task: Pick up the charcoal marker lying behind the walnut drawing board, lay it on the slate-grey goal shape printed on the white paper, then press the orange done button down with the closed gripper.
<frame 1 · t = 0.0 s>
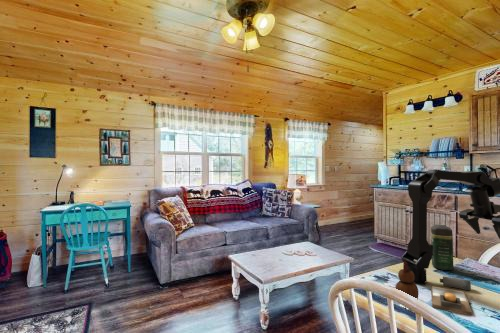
hand: (489, 236, 112), 15 cm above the table, tool pointing down, fingers open, 9 cm apart
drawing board: (449, 300, 91), on the table
done button: (450, 297, 87), point 3 cm above the table, slide at 0.0 cm
wooden figurine: (407, 304, 90), on the table
coffee jar: (442, 267, 121), on the table
marker: (456, 287, 100), on the table
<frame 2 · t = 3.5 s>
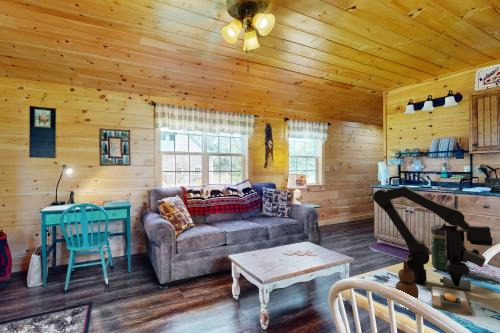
hand: (456, 284, 100), 1 cm above the table, tool pointing down, fingers closed on marker, 3 cm apart
marker: (456, 287, 100), on the table, touching gripper
everything else where it was.
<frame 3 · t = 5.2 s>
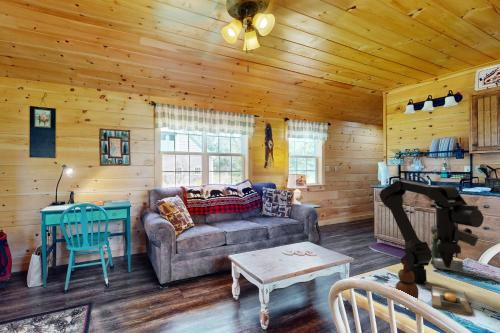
hand: (447, 265, 95), 11 cm above the table, tool pointing down, fingers closed on marker, 3 cm apart
marker: (447, 269, 95), point 9 cm above the table, touching gripper
everything else where it was.
when the fingers open (3 cm above the table, at t = 7.1 s): marker stays where it is, resting on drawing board.
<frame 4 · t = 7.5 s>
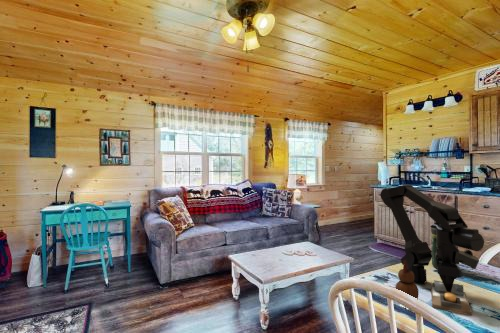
hand: (447, 287, 94), 3 cm above the table, tool pointing down, fingers open, 7 cm apart
marker: (448, 292, 94), point 1 cm above the table, touching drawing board
everything else where it was.
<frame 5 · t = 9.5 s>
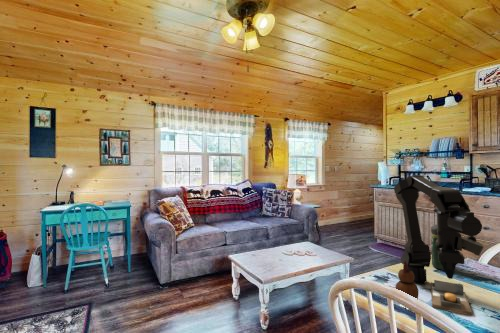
hand: (449, 276, 87), 10 cm above the table, tool pointing down, fingers open, 4 cm apart
marker: (448, 292, 94), point 1 cm above the table, tilted 12°, touching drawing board
everything else where it was.
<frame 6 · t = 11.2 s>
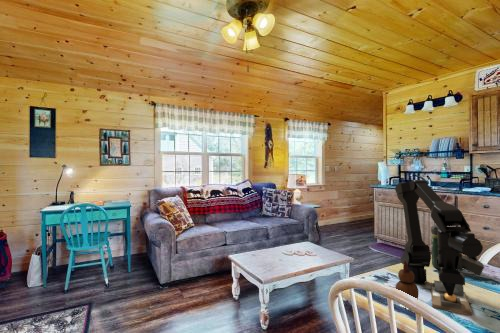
hand: (450, 295, 87), 4 cm above the table, tool pointing down, fingers closed, pressing on done button
done button: (450, 297, 87), point 3 cm above the table, slide at 0.1 cm, touching gripper
marker: (448, 292, 94), point 1 cm above the table, touching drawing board
everything else where it was.
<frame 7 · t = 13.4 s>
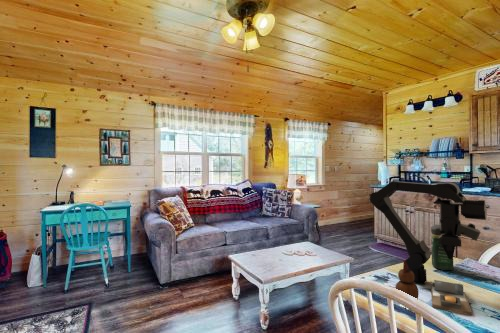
hand: (450, 258, 99), 11 cm above the table, tool pointing down, fingers closed
done button: (450, 300, 87), point 2 cm above the table, slide at 1.0 cm
marker: (448, 292, 94), point 1 cm above the table, tilted 12°, touching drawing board
everything else where it was.
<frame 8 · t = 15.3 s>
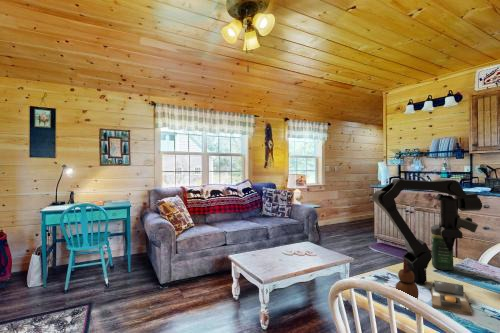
hand: (450, 250, 106), 12 cm above the table, tool pointing down, fingers closed
marker: (448, 292, 94), point 1 cm above the table, touching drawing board
everything else where it was.
at the end: marker 0.1 cm from the target spot on the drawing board, point 1.1 cm above the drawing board's base; done button slide at 1.0 cm; the gripper is holding nothing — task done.
